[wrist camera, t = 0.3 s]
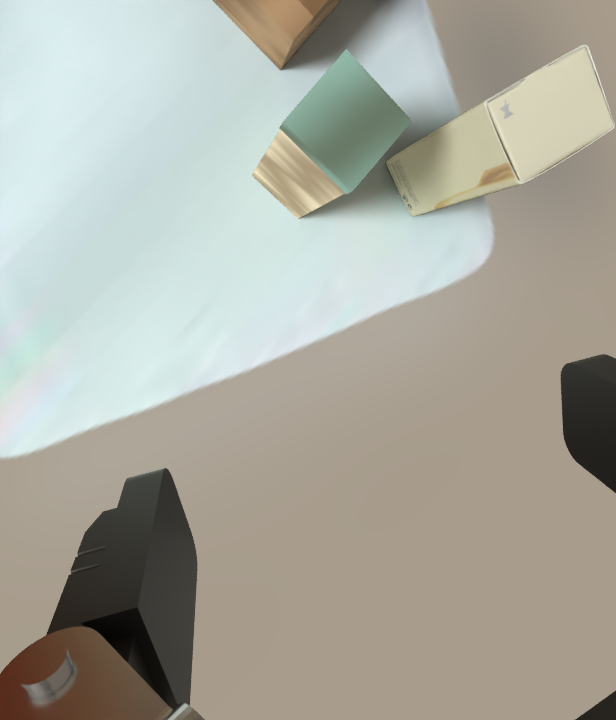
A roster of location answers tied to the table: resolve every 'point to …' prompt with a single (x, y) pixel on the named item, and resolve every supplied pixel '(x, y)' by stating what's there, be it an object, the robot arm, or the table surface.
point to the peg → (331, 139)
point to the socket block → (277, 23)
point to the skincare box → (506, 137)
